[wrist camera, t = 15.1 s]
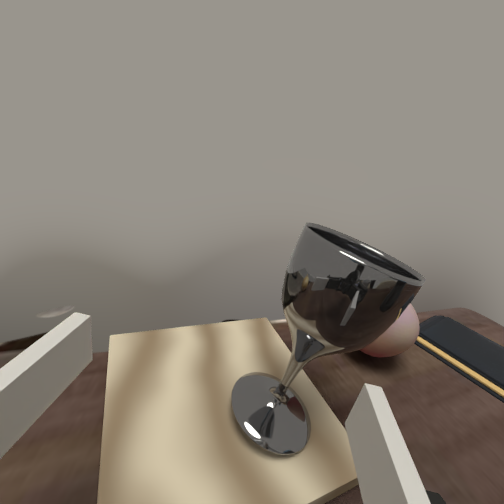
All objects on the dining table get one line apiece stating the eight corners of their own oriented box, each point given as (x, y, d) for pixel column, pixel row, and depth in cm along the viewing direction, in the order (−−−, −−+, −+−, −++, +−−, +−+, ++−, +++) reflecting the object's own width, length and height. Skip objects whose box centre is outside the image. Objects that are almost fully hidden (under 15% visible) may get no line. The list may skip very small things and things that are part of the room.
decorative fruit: (404, 392, 29) (446, 320, 25) (331, 360, 31) (360, 290, 27) (394, 342, 37) (425, 283, 33) (337, 320, 39) (360, 262, 36)
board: (263, 326, 34) (265, 317, 34) (365, 480, 20) (373, 469, 19) (110, 346, 26) (110, 335, 26) (89, 632, 12) (87, 620, 11)
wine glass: (215, 370, 23) (284, 213, 18) (286, 367, 26) (357, 237, 22) (246, 473, 16) (368, 267, 12) (335, 450, 20) (451, 289, 15)
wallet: (609, 399, 33) (601, 457, 24) (599, 409, 34) (587, 469, 25) (442, 308, 48) (400, 325, 39) (437, 316, 48) (395, 335, 40)
